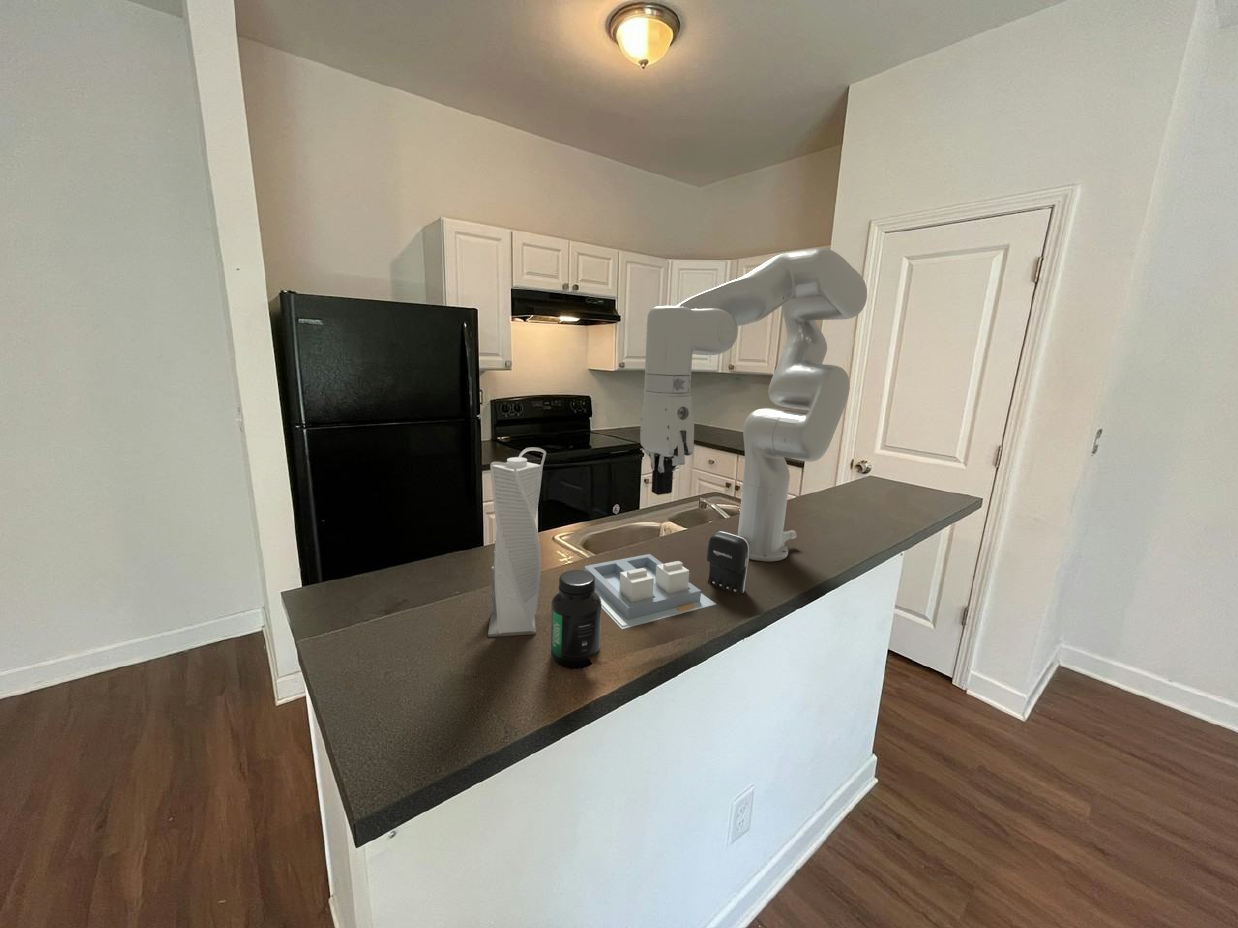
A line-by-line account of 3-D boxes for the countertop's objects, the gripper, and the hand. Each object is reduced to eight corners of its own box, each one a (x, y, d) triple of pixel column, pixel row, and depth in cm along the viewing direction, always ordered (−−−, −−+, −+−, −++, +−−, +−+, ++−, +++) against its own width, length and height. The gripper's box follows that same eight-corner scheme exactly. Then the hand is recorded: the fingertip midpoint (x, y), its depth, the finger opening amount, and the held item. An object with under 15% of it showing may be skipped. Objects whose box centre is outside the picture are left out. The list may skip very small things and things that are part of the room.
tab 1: (639, 595, 82) (641, 563, 81) (652, 606, 79) (654, 573, 78) (618, 600, 81) (620, 567, 79) (630, 611, 77) (632, 578, 76)
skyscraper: (544, 609, 80) (545, 442, 74) (545, 637, 72) (547, 454, 66) (491, 612, 79) (488, 442, 72) (487, 641, 71) (483, 453, 64)
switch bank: (652, 564, 98) (653, 548, 98) (715, 612, 81) (717, 593, 81) (570, 581, 90) (570, 564, 89) (621, 637, 73) (622, 616, 72)
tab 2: (673, 587, 86) (675, 557, 84) (687, 597, 82) (689, 566, 81) (654, 591, 84) (656, 560, 83) (667, 602, 80) (669, 570, 79)
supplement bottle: (552, 673, 64) (553, 590, 62) (549, 643, 71) (549, 567, 68) (603, 668, 66) (606, 587, 63) (595, 639, 72) (597, 565, 70)
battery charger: (700, 592, 88) (705, 533, 85) (711, 585, 91) (716, 528, 88) (735, 606, 84) (742, 544, 81) (745, 598, 86) (752, 538, 84)
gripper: (714, 389, 75) (706, 502, 79) (661, 382, 88) (656, 479, 92) (674, 390, 71) (667, 508, 76) (625, 382, 84) (621, 484, 88)
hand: (661, 492), depth 84 cm, fingers closed
